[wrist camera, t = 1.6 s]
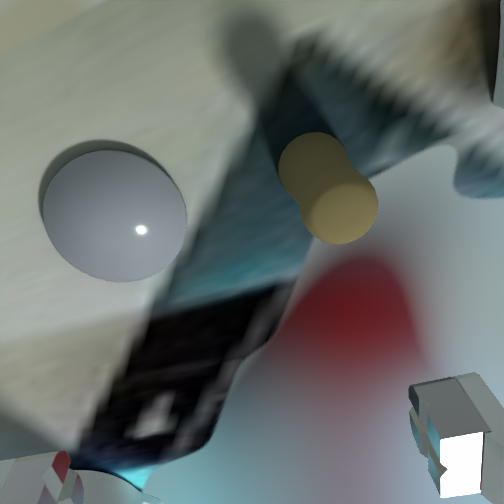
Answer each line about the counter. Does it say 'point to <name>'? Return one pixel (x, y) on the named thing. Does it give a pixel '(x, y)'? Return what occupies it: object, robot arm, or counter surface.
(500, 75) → the skincare box
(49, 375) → the counter surface
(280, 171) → the cork
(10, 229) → the counter surface
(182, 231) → the coaster
